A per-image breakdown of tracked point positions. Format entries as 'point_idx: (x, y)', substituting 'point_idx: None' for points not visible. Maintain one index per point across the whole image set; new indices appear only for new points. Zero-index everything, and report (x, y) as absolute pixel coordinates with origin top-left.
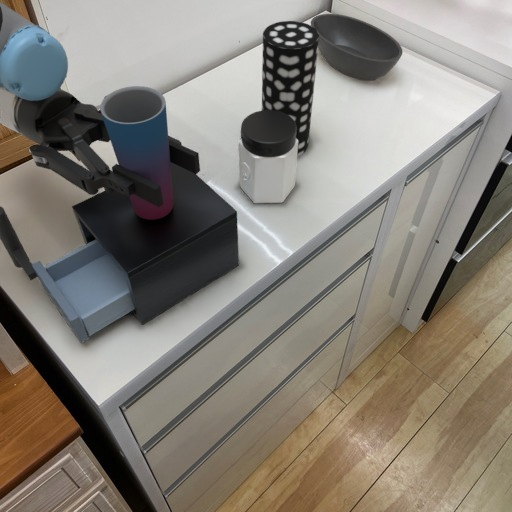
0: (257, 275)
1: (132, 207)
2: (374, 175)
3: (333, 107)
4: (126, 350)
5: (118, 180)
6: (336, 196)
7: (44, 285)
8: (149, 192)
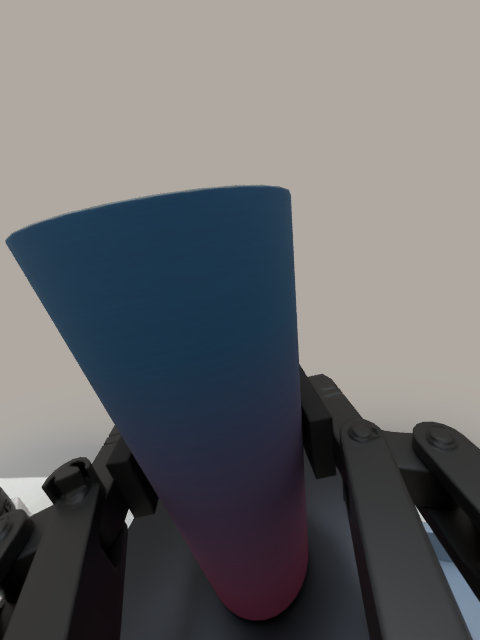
0: None
1: (300, 618)
2: (8, 493)
3: None
4: (420, 514)
5: (333, 396)
6: (51, 503)
7: None
8: None
